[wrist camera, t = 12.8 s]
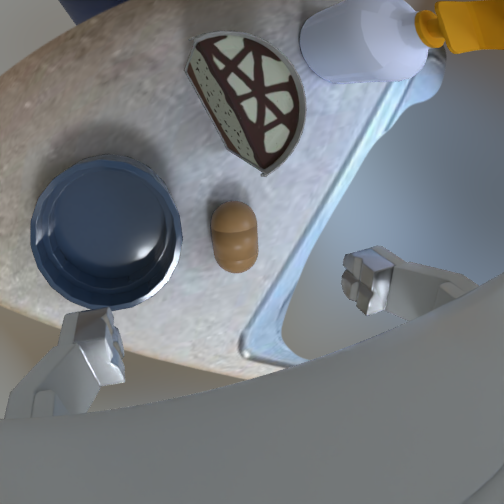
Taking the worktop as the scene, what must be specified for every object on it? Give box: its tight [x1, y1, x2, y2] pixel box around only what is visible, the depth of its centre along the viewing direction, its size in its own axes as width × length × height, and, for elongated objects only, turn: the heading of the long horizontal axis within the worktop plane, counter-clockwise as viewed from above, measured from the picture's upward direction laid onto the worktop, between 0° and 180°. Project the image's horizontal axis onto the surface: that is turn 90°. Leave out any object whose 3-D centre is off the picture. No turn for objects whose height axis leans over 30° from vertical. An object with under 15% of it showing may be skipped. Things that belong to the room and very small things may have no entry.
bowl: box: [31, 154, 183, 311], centre depth 28 cm, size 14×14×5 cm
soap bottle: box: [300, 0, 504, 84], centre depth 19 cm, size 9×9×25 cm
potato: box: [211, 201, 258, 273], centre depth 33 cm, size 8×5×5 cm, turn 3°
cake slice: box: [184, 31, 307, 177], centre depth 25 cm, size 12×6×10 cm, turn 26°
